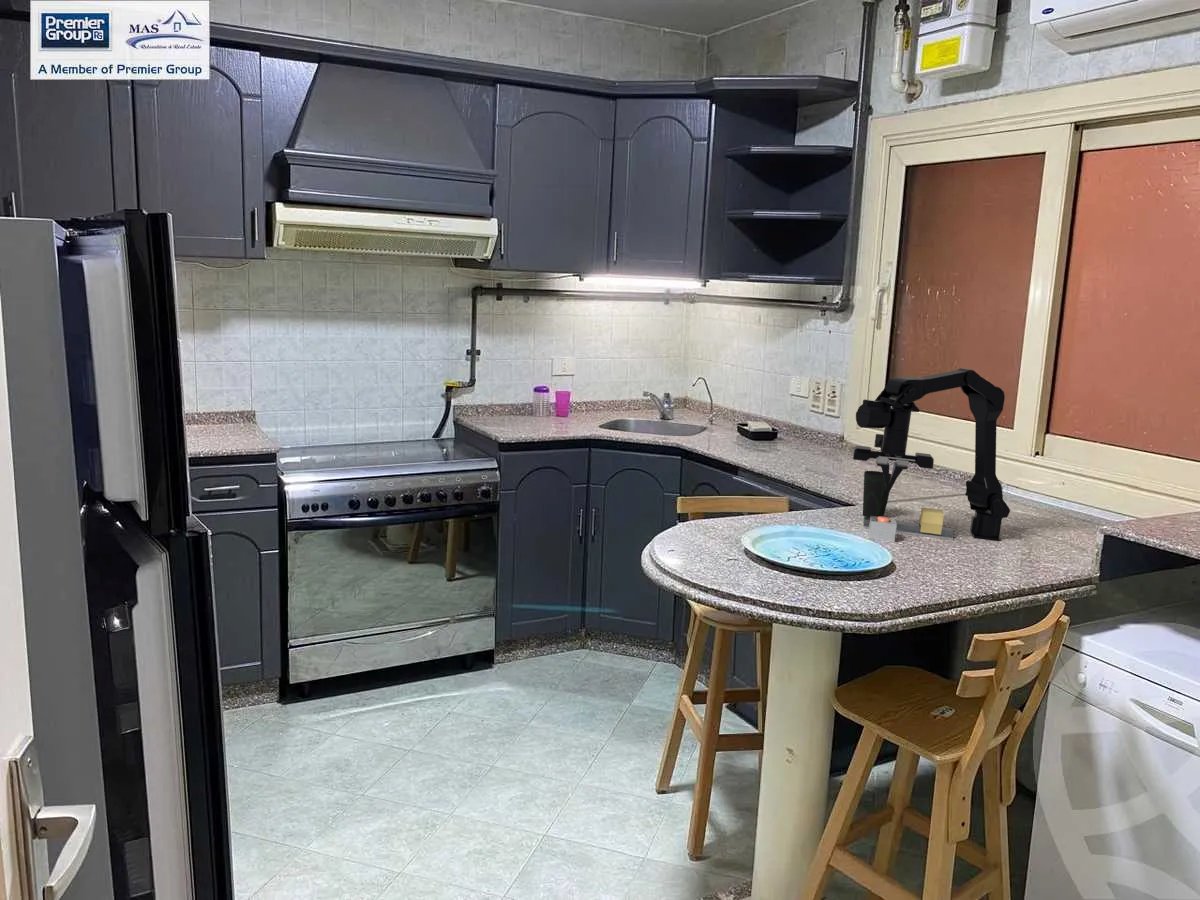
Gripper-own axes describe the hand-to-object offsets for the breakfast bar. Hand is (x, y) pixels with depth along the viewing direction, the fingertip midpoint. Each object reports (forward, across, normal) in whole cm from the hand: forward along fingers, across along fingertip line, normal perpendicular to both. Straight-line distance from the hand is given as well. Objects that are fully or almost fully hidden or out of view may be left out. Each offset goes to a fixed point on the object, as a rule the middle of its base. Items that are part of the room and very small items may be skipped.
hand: (887, 491), depth 232 cm
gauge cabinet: (+12, 0, 0) cm, 12 cm away
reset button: (+9, 0, 0) cm, 9 cm away
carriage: (+12, -12, -11) cm, 20 cm away
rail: (+12, -7, -11) cm, 17 cm away
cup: (+12, +1, -24) cm, 27 cm away
